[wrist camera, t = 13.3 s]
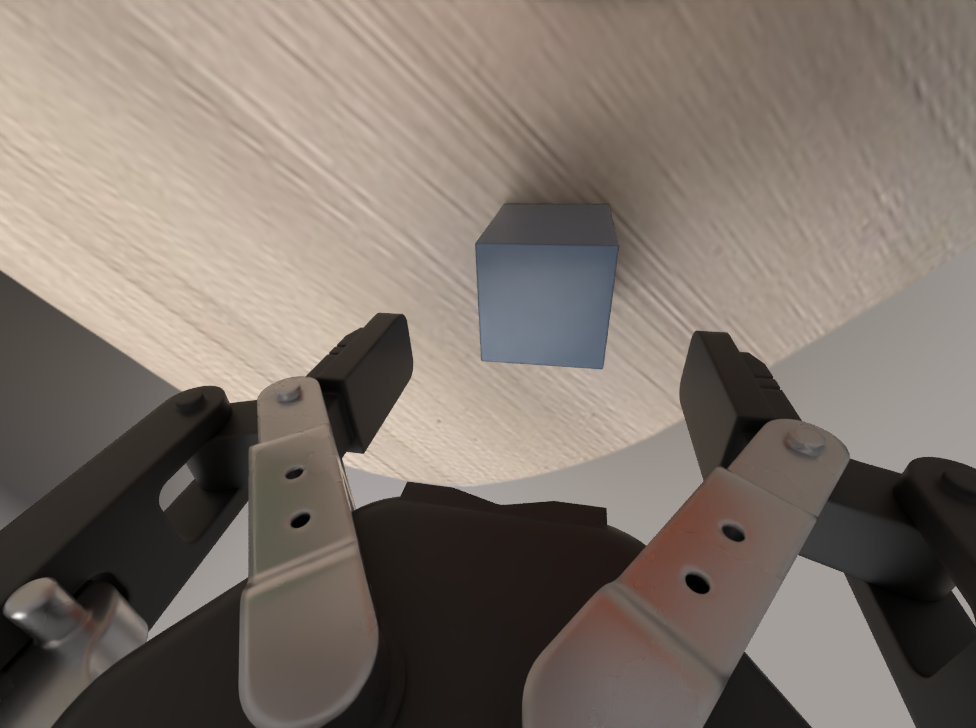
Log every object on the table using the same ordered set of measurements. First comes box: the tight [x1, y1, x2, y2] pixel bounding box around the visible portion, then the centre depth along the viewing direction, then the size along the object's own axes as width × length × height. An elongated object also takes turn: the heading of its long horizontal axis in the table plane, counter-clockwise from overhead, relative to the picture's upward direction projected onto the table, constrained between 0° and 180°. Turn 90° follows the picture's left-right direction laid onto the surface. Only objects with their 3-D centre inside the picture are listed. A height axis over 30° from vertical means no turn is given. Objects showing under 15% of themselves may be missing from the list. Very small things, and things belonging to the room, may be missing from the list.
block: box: [475, 204, 619, 369], centre depth 17 cm, size 4×4×6 cm
